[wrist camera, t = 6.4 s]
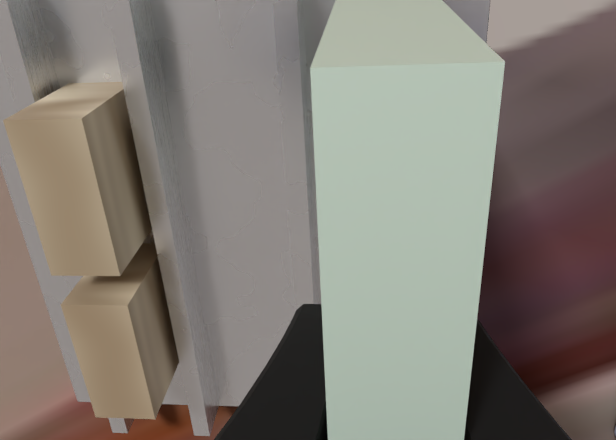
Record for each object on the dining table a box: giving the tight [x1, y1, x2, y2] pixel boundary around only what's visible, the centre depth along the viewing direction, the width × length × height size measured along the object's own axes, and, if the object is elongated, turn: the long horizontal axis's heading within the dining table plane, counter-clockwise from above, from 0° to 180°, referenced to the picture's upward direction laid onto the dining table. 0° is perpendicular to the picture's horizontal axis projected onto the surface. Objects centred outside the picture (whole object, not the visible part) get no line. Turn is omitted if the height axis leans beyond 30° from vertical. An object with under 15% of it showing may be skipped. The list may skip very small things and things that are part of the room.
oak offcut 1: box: [3, 82, 152, 276], centre depth 16 cm, size 2×4×4 cm, turn 3°
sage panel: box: [310, 0, 505, 440], centre depth 9 cm, size 1×10×8 cm, turn 3°
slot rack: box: [0, 0, 490, 436], centre depth 18 cm, size 15×16×2 cm
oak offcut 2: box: [61, 243, 179, 419], centre depth 19 cm, size 2×4×4 cm, turn 3°
